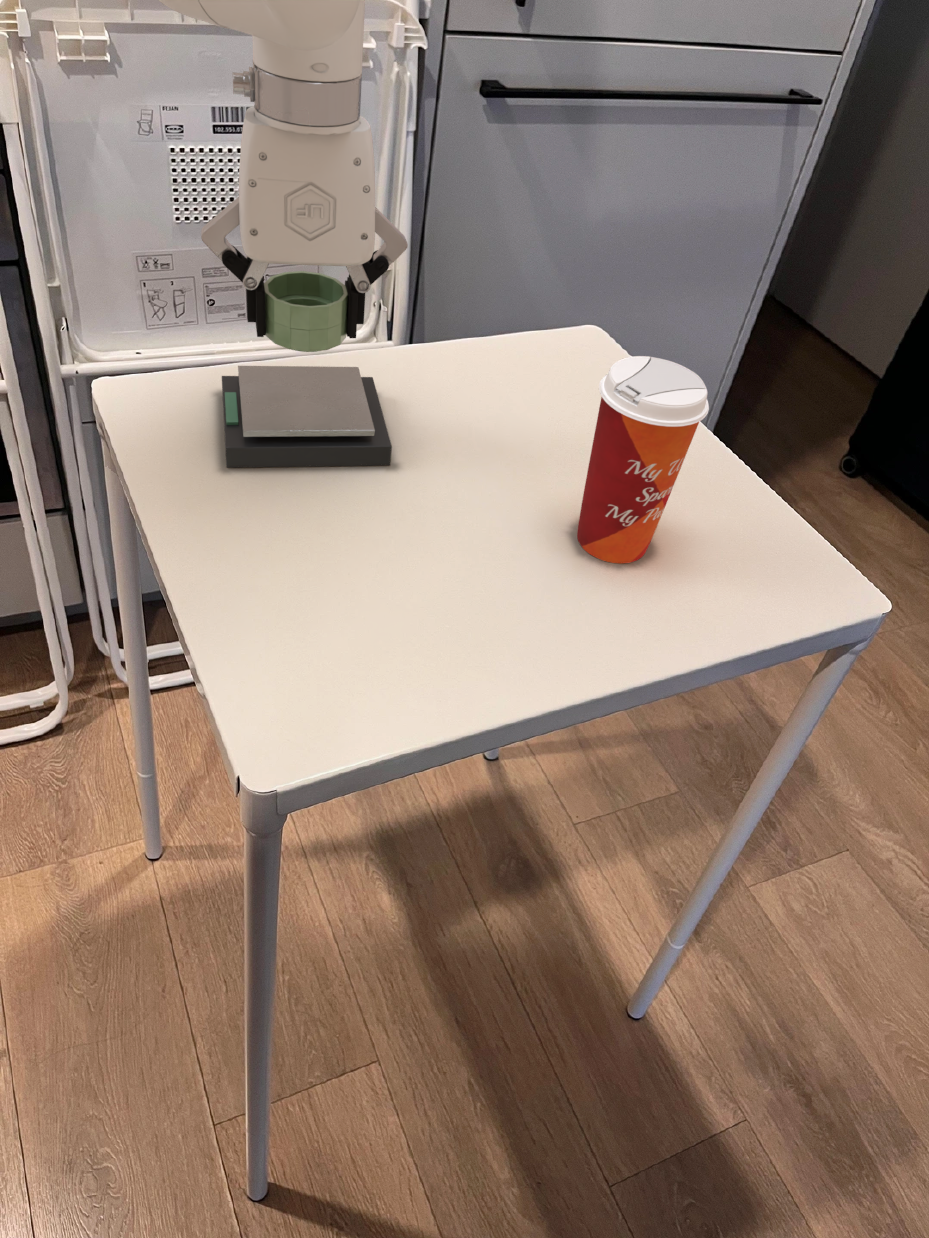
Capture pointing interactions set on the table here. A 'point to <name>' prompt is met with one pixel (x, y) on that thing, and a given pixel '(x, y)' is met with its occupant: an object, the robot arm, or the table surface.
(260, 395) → the platform
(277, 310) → the bowl
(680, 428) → the coffee cup
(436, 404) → the table surface
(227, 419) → the scale base
